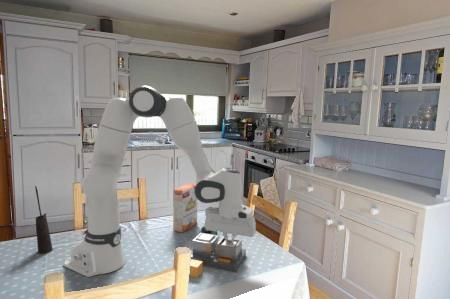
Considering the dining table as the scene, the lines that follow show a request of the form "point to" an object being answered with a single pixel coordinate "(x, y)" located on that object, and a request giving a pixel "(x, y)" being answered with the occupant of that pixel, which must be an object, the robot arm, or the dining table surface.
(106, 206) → the robot arm
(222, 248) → the twin switch block
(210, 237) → the breaker
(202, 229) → the digital multimeter
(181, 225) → the cracker box
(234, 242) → the breaker tagged
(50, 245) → the butter churn
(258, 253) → the dining table surface
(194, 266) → the orange cube
